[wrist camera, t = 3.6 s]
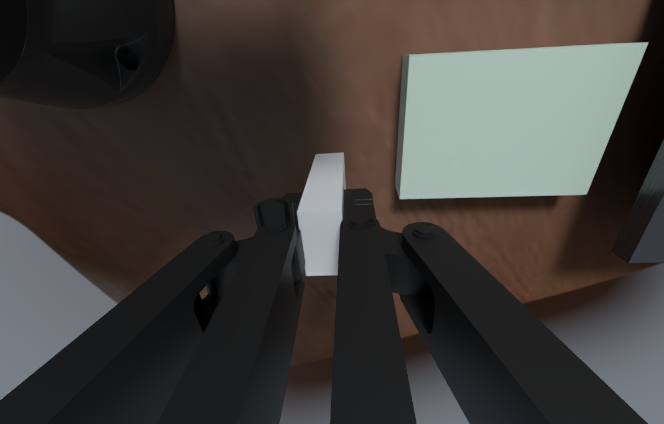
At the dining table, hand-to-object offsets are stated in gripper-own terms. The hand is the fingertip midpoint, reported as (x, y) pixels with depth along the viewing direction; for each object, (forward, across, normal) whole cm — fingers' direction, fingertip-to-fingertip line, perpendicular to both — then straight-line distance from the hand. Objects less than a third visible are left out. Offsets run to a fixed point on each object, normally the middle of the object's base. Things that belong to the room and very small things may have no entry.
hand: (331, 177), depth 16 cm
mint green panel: (+9, +12, 0) cm, 15 cm away
